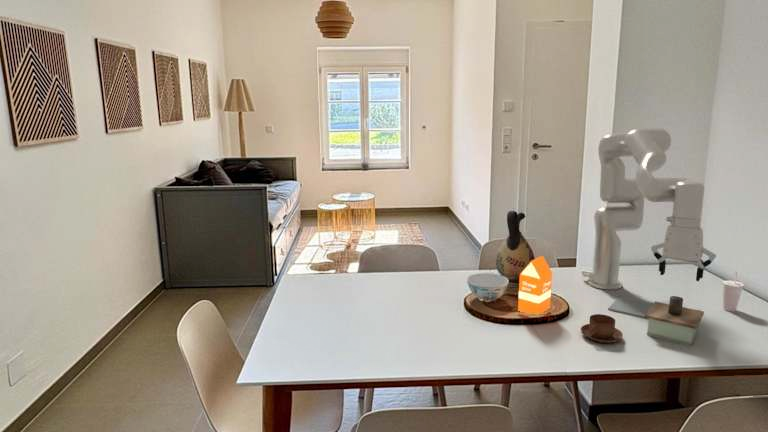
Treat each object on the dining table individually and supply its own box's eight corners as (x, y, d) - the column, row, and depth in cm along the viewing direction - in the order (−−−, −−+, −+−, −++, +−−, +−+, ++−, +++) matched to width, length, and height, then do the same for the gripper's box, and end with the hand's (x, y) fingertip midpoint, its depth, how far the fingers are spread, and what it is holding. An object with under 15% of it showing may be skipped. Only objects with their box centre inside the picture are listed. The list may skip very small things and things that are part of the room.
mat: (608, 309, 183) (608, 308, 183) (619, 297, 195) (619, 295, 194) (655, 320, 174) (655, 318, 174) (664, 306, 185) (664, 304, 185)
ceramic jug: (504, 273, 223) (507, 204, 216) (539, 280, 214) (543, 208, 207) (487, 284, 209) (489, 211, 203) (524, 292, 200) (528, 216, 194)
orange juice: (517, 314, 180) (520, 258, 176) (529, 306, 187) (532, 253, 182) (538, 320, 175) (541, 263, 171) (550, 312, 181) (553, 257, 177)
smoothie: (743, 313, 179) (749, 274, 176) (723, 312, 180) (728, 273, 177) (735, 306, 185) (740, 268, 182) (715, 305, 186) (720, 267, 183)
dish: (647, 335, 163) (649, 317, 162) (655, 322, 173) (657, 305, 171) (690, 345, 156) (693, 327, 155) (697, 331, 165) (699, 314, 164)
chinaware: (462, 303, 190) (463, 283, 188) (471, 290, 203) (472, 271, 202) (504, 309, 184) (504, 288, 183) (510, 294, 198) (511, 275, 196)
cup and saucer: (618, 349, 155) (620, 330, 153) (576, 340, 161) (578, 321, 159) (624, 334, 164) (626, 316, 163) (584, 326, 171) (586, 308, 169)
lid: (644, 317, 162) (646, 299, 161) (654, 303, 173) (656, 287, 171) (696, 329, 153) (698, 310, 152) (703, 313, 164) (706, 296, 163)
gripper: (651, 221, 159) (646, 274, 162) (718, 228, 148) (711, 285, 152) (656, 217, 165) (651, 269, 168) (721, 223, 154) (714, 279, 157)
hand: (680, 276), depth 160 cm, fingers open, 9 cm apart
